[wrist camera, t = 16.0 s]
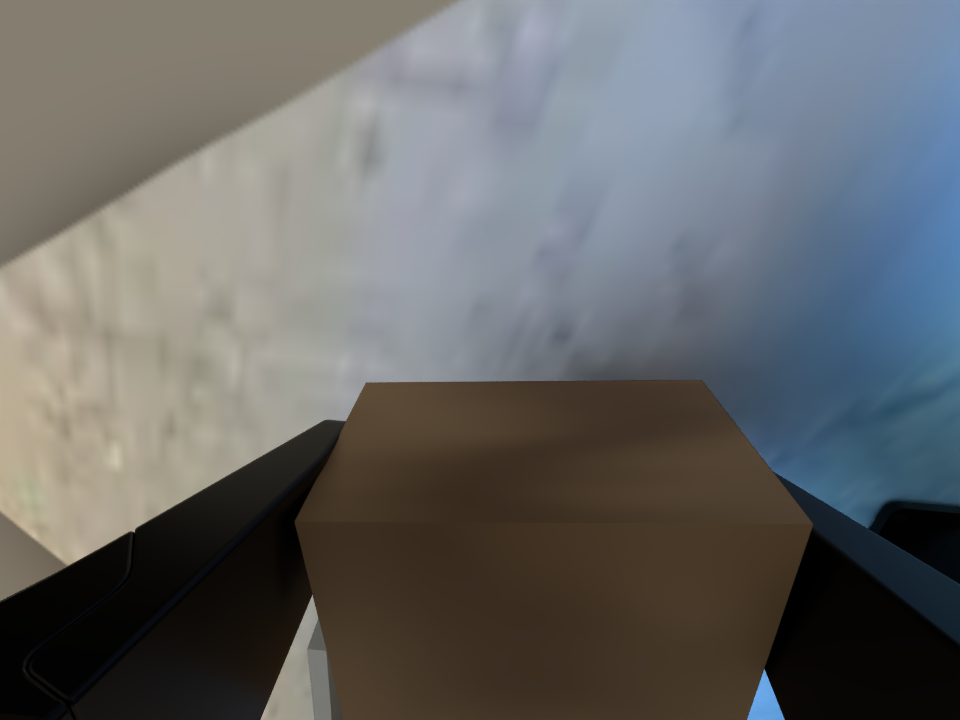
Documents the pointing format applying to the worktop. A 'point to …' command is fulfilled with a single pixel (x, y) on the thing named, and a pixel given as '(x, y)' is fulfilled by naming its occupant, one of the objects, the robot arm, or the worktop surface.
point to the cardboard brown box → (548, 553)
